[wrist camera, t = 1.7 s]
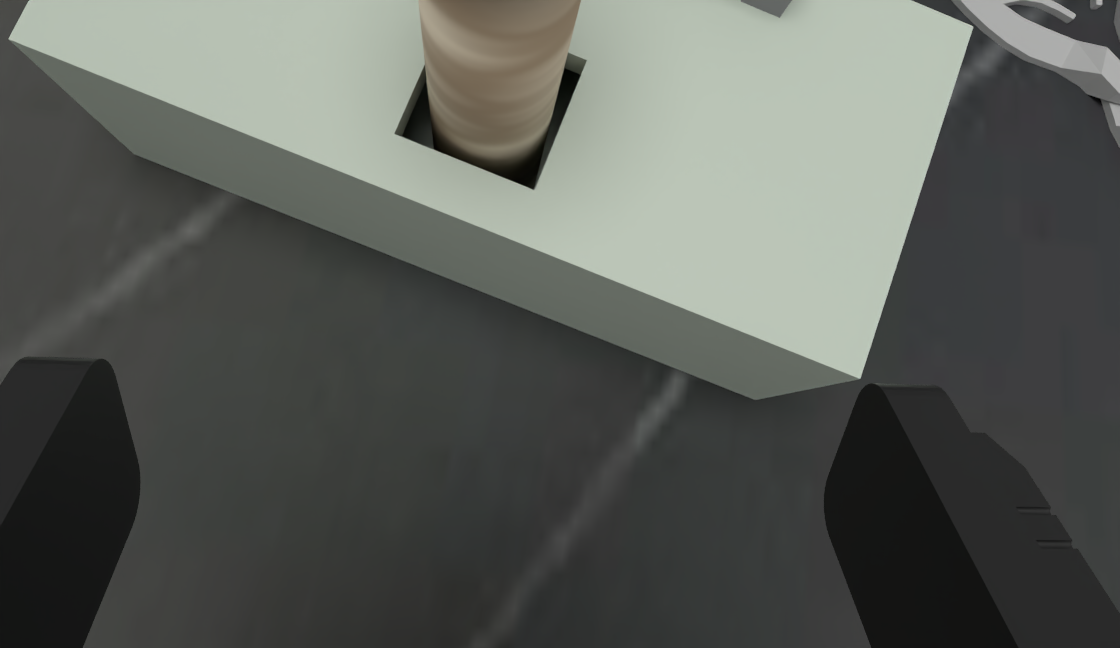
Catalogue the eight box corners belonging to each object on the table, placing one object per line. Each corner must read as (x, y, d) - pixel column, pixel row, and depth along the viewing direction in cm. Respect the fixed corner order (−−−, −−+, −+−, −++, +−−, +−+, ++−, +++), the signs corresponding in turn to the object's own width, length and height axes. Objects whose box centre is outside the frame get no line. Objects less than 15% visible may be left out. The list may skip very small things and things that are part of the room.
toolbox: (133, 154, 32) (-60, -24, 20) (261, -105, 34) (152, -406, 22) (755, 400, 33) (916, 367, 21) (845, 135, 35) (1040, -31, 23)
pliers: (1110, -191, 37) (1304, 125, 36) (1084, -165, 39) (1269, 139, 38) (913, -102, 36) (1108, 232, 34) (894, -78, 37) (1080, 242, 36)
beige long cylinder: (404, 216, 32) (316, -125, 13) (451, 106, 33) (431, -363, 14) (520, 263, 32) (596, -10, 13) (564, 152, 33) (694, -251, 14)
